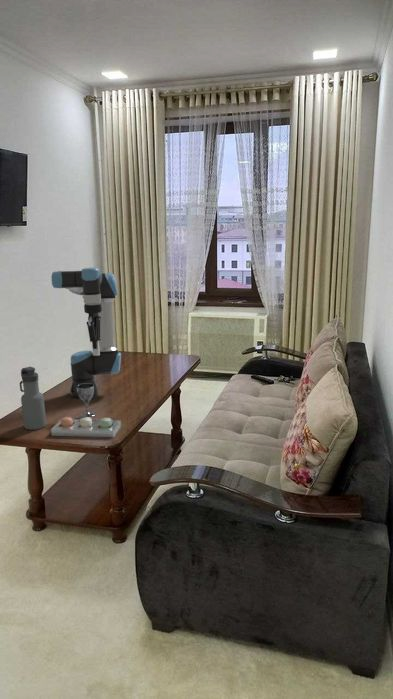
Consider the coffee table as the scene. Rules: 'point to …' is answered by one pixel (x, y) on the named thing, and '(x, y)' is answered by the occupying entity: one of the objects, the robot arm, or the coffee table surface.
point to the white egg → (86, 422)
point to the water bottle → (32, 400)
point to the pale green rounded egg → (105, 423)
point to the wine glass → (86, 396)
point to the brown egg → (66, 422)
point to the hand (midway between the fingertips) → (96, 355)
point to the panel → (86, 429)
